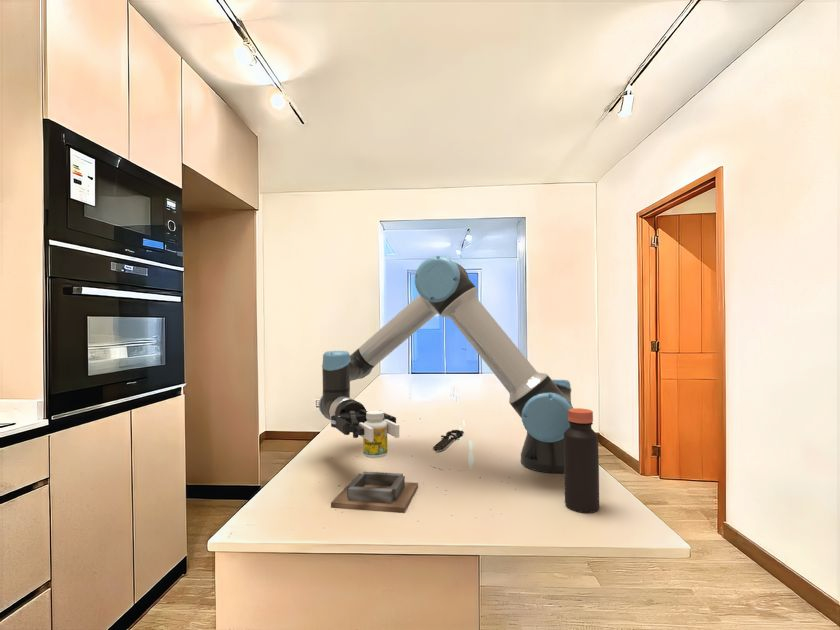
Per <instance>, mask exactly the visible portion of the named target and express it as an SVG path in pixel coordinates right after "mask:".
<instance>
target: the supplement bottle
mask: <svg viewBox="0 0 840 630" xmlns="http://www.w3.org/2000/svg"><path fill="white" fill-rule="evenodd" d="M384 413H385V412H384V411H383V410H381V411H379V410H370V411H368V412H366V418H367V421H366V422H365V423H364V424H366V425H368V426H370V427H372V428H373V433H374V441H373V442H370V441H368V440H366V439H365V438H363V437H362V438H363V443H362V444H363V447H362V448H363V456H364V457H366V458H369V459H379V458H384V457H386V456H387V455H388V433H387V423H386V421H384V420H383V419H384Z"/></svg>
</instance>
